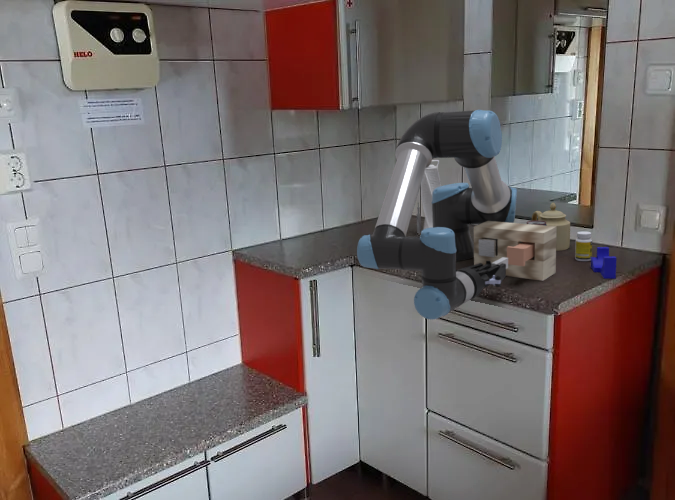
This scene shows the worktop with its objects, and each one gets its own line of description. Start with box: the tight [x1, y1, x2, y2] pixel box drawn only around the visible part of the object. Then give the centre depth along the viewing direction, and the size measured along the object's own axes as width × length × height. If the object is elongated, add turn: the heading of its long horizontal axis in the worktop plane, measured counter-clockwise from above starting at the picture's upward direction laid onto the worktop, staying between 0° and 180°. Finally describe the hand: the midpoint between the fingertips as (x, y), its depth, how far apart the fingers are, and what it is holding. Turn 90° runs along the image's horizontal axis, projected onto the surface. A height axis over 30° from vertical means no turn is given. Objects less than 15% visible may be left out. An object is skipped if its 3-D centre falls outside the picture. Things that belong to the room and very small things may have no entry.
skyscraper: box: [416, 159, 442, 234], centre depth 234 cm, size 8×8×28 cm
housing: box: [473, 221, 557, 282], centre depth 182 cm, size 21×9×14 cm, turn 50°
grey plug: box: [479, 238, 498, 257], centre depth 185 cm, size 5×12×5 cm, turn 140°
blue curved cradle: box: [590, 246, 617, 280], centre depth 177 cm, size 12×4×6 cm, turn 168°
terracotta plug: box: [507, 242, 535, 266], centre depth 174 cm, size 5×12×5 cm, turn 140°
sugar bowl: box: [531, 202, 571, 252], centre depth 208 cm, size 15×11×15 cm
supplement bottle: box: [574, 231, 593, 262], centre depth 190 cm, size 5×5×8 cm
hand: (505, 262), depth 165 cm, fingers closed
